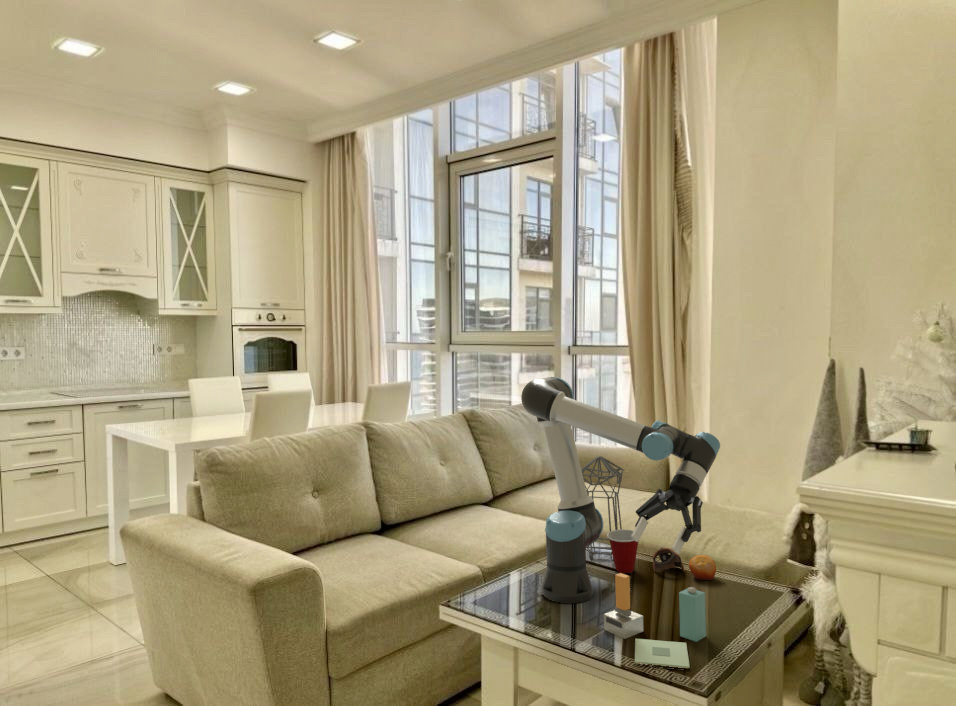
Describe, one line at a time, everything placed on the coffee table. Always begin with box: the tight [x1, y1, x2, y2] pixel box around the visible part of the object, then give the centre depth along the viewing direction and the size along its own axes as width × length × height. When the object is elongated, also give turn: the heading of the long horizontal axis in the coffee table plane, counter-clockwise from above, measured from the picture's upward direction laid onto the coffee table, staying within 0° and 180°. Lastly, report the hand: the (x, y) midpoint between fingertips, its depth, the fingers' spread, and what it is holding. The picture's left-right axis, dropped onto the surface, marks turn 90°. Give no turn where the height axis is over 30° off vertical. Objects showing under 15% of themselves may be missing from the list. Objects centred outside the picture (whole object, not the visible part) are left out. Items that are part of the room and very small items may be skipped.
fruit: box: [688, 554, 717, 581], centre depth 203 cm, size 8×8×8 cm
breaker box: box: [603, 609, 644, 640], centre depth 167 cm, size 7×7×4 cm
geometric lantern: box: [581, 455, 625, 561], centre depth 227 cm, size 16×16×35 cm
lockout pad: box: [634, 638, 691, 669], centre depth 153 cm, size 12×12×1 cm
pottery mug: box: [652, 547, 685, 573], centre depth 211 cm, size 12×10×8 cm
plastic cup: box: [606, 528, 640, 574], centre depth 212 cm, size 11×11×12 cm
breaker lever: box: [614, 572, 632, 617], centre depth 167 cm, size 2×4×10 cm, turn 36°
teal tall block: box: [678, 586, 707, 643], centre depth 163 cm, size 4×4×12 cm
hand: (654, 544), depth 174 cm, fingers open, 13 cm apart
